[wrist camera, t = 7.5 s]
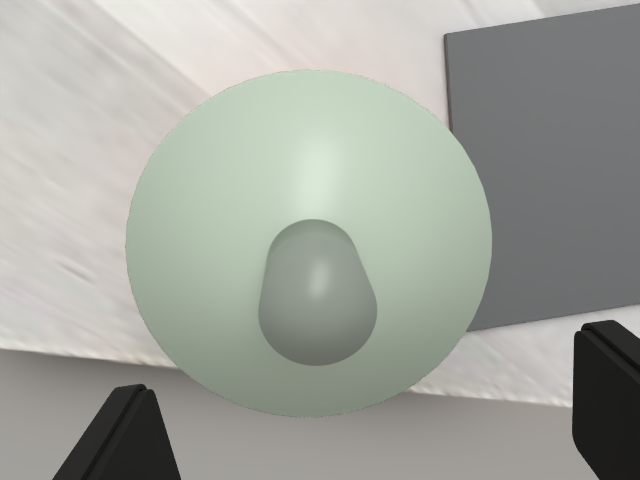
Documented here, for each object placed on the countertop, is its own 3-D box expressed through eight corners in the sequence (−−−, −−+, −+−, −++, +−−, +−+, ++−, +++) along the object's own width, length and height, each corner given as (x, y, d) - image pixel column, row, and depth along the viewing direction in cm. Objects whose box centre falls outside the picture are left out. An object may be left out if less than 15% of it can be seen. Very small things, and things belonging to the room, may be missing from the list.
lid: (475, 41, 19) (551, 16, 13) (492, 378, 23) (553, 465, 18) (84, 104, 19) (-4, 106, 13) (180, 430, 23) (145, 533, 18)
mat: (768, -16, 25) (777, -19, 25) (730, 285, 31) (737, 288, 30) (443, 34, 25) (446, 33, 25) (462, 328, 30) (465, 331, 30)
